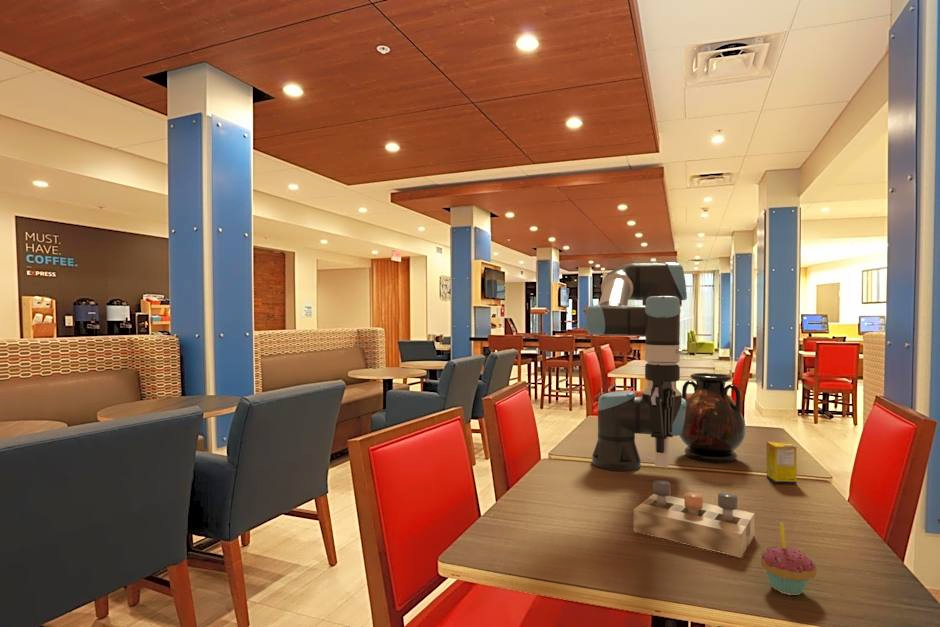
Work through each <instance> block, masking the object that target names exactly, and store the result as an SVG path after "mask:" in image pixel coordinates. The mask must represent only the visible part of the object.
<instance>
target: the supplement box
mask: <svg viewBox="0 0 940 627" xmlns="http://www.w3.org/2000/svg"><path fill="white" fill-rule="evenodd" d="M797 463H798V462H797V446H796V445H794V444H791V443H790V442H788V441H766V478H767V479H768V480H769V481H770V482H773V484H778V485H797V475H798V474H797V470H798V469H797Z"/></svg>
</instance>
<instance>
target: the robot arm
mask: <svg viewBox="0 0 940 627" xmlns="http://www.w3.org/2000/svg"><path fill="white" fill-rule="evenodd" d="M686 283H687V282H686V276H685V271H684V267H683V266H682V264H681V263H678V262H667V261H666V262H646V263H645V262H642V263H635V262H634V263H633V262H632V263H627V264H623V265H620V266H618V267H616V268H615V269H613V270H611V271H610V272H608V274H606V275H605V277H604V278H603V280H602V282H601V286H600V290H601V291H600V292H601V296H600V299H599V302H598V304H596V305H588V307H587V308H586V311H585V312H586V313H585V328H586V329H585V330H586V332H587V333H588V334H590V335H597V336H598V335H599V336H639V337H640V336H643V337H644V336H645V344H644V361H645V362H647V363H645V365H644V379H645V380H647V384H646V387H645V388H644V389H643V390H642V391H641V392H642V394H641V396H636V392H635V391H627V390H624V391H612V392H607V393H606V392H605V393H603V394H601V395H599V397H598V399H597V400H598V401H597V409H596V410H597V441H596V444H595V446H594V450H593V453H592V457H591V461H592V462H591V463H592V465H593V466H595V467H597V468H600V469H603V470H604V469H605V470H610V471H620V472H621V471H622V472H623V471H625V472H626V471H633V470H634V471H635V470H638V469H641V466H642V464H641V463H642V461H641V457H640V453H639V449H638V447H637V444H636V434H638V435H639V434H641V435H650V437H651V438H654V466H657V467H661V468H669V466H670V438H673V437H677V436H678V437H679V435H680V434H681V433H682V430H683V426H684V421H685V413H686V400H685V399H683V398H682V391H680V390H679V389H678V388H677V382H679V380H680V378H681V376H680V374H681V373H680V372H681V369H680V368H681V367H680V365H679V364H677V363H679V362H680V361H681V360H680V354H682V353H683V350H682V349H680V347H681V346H680V345H681V344H680V342H681V341H680V327H681V307H682V306H683V304H682V303H683V301H686V300H687V298H688V296H687V295H688V294H687V284H686ZM629 300H630V301H642V305H628V304H629V303H628V302H629Z"/></svg>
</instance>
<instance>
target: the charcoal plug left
mask: <svg viewBox="0 0 940 627" xmlns="http://www.w3.org/2000/svg"><path fill="white" fill-rule="evenodd" d="M671 485H672V484H671V482H669V481H667V480H653V482H652V493H653V494H656V495H657V505H659V506H666V496H671V492H672V491H671Z"/></svg>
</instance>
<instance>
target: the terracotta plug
mask: <svg viewBox="0 0 940 627" xmlns="http://www.w3.org/2000/svg"><path fill="white" fill-rule="evenodd" d="M683 495H684V496H683V497H684V498H683V499H684V506H685V507H687V508H689V514H692V515H696V516H698V509H702V508H703V503H704V502H703V501H704V496H703V495H702V494H700V493H696V492H685V493H684V494H683Z"/></svg>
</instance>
